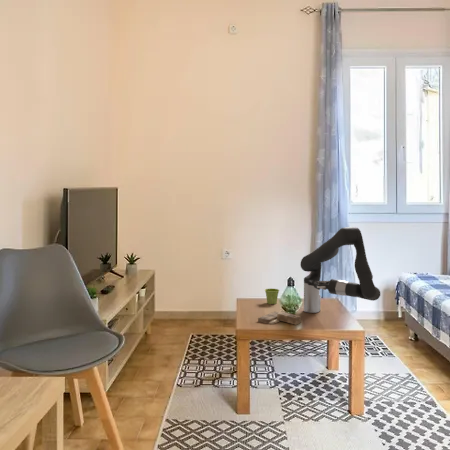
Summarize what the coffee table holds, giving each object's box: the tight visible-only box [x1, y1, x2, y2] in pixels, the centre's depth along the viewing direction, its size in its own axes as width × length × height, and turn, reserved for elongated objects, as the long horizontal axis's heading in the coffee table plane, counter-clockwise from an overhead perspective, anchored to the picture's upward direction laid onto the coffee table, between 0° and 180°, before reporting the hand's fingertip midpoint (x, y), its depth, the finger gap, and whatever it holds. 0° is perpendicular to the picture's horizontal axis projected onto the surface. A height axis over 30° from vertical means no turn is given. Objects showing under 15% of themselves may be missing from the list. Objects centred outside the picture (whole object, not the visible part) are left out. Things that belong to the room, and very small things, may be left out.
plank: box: [277, 311, 302, 325], centre depth 259 cm, size 4×5×12 cm
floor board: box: [257, 311, 281, 325], centre depth 264 cm, size 18×10×2 cm, turn 143°
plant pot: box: [264, 288, 280, 305], centre depth 304 cm, size 9×9×9 cm
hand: (308, 282), depth 251 cm, fingers closed
